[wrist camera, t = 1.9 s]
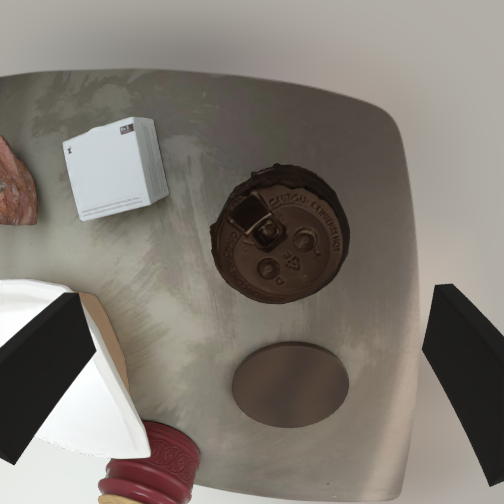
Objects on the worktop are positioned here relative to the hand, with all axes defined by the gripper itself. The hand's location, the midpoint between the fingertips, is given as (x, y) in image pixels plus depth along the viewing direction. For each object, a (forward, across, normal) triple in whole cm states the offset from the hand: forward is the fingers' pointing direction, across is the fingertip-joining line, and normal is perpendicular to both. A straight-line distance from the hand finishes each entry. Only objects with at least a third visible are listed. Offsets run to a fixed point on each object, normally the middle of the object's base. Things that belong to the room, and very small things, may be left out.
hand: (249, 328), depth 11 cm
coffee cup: (+20, +1, 0) cm, 21 cm away
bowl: (+20, -25, -15) cm, 36 cm away
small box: (+20, -14, +5) cm, 25 cm away
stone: (+20, -28, +7) cm, 36 cm away
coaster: (+20, +2, -22) cm, 30 cm away
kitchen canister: (+20, -18, -36) cm, 45 cm away
